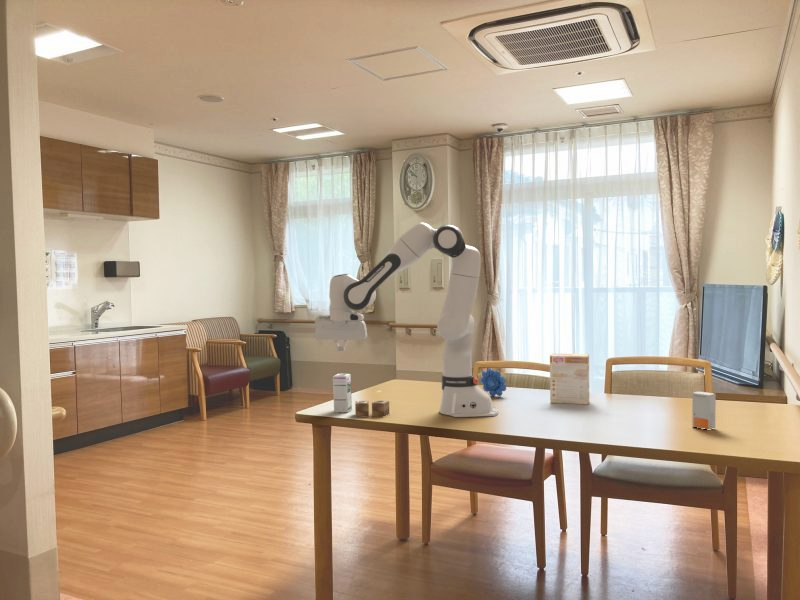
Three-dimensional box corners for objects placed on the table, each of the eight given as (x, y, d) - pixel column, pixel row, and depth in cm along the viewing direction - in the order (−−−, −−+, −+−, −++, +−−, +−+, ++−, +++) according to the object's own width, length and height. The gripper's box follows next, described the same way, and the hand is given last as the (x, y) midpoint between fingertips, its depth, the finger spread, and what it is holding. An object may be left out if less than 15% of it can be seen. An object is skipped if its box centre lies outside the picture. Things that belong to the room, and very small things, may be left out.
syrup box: (348, 412, 252) (347, 375, 251) (333, 412, 253) (332, 375, 252) (352, 409, 257) (351, 373, 257) (337, 409, 258) (336, 373, 258)
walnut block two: (389, 414, 249) (389, 400, 248) (384, 416, 244) (384, 402, 244) (377, 413, 250) (377, 399, 250) (372, 416, 246) (371, 402, 246)
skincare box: (691, 427, 219) (691, 392, 219) (698, 425, 222) (698, 391, 221) (709, 431, 214) (709, 395, 214) (716, 429, 217) (716, 393, 216)
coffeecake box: (589, 401, 266) (589, 354, 265) (588, 405, 259) (587, 356, 258) (552, 399, 271) (552, 353, 270) (549, 402, 265) (549, 355, 264)
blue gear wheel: (477, 397, 279) (476, 369, 279) (482, 394, 285) (481, 367, 285) (503, 398, 274) (503, 370, 274) (507, 396, 280) (507, 368, 280)
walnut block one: (368, 413, 250) (368, 400, 249) (368, 416, 245) (368, 402, 244) (355, 414, 249) (355, 400, 249) (355, 417, 244) (355, 403, 244)
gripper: (312, 316, 252) (313, 351, 252) (364, 316, 249) (365, 352, 250) (316, 314, 258) (317, 349, 258) (367, 315, 255) (367, 350, 256)
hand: (341, 350), depth 254 cm, fingers closed
